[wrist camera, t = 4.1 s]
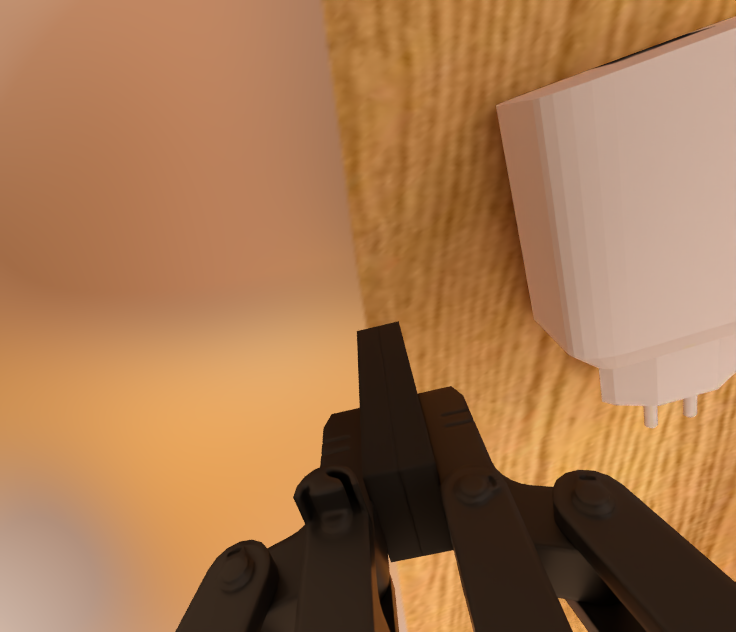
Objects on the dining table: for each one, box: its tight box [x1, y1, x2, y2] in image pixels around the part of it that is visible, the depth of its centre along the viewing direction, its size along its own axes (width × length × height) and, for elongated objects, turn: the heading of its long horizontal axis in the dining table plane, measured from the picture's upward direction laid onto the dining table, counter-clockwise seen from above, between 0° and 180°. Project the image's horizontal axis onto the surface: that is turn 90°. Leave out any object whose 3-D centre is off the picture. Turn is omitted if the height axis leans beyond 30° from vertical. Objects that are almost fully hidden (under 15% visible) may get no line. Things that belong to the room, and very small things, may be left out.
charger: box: [496, 16, 736, 428], centre depth 15 cm, size 5×9×15 cm
